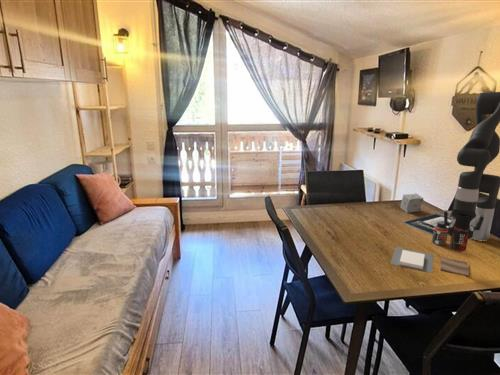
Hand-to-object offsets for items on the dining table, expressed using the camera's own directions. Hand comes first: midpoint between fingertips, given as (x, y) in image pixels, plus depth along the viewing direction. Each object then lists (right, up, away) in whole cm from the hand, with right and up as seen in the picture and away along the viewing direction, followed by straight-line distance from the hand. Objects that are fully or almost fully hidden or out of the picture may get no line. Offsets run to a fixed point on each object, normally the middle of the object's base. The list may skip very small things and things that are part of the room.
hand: (459, 236), depth 136 cm
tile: (-12, -10, +14) cm, 21 cm away
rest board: (0, -14, +4) cm, 14 cm away
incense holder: (+15, +5, +71) cm, 73 cm away
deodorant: (0, -5, +1) cm, 5 cm away
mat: (-14, -12, +11) cm, 22 cm away
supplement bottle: (+6, -8, +26) cm, 28 cm away
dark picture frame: (+19, -1, +49) cm, 53 cm away
